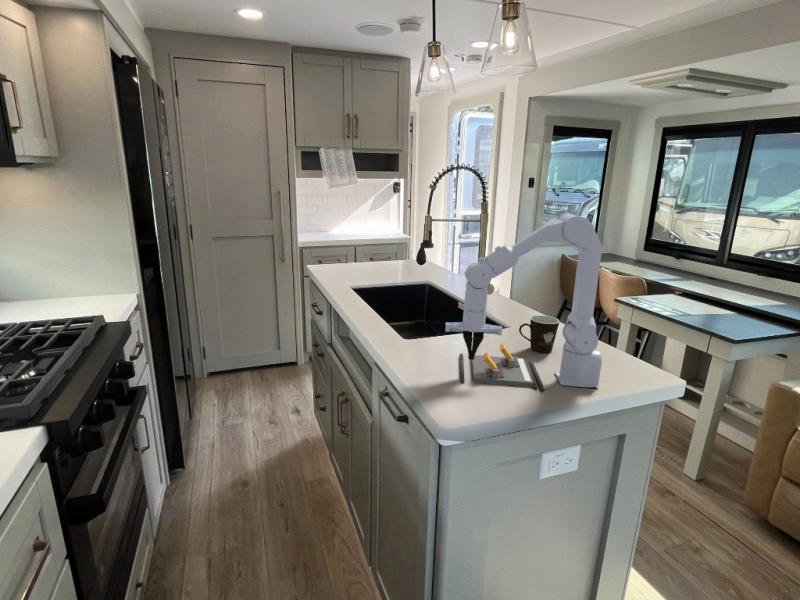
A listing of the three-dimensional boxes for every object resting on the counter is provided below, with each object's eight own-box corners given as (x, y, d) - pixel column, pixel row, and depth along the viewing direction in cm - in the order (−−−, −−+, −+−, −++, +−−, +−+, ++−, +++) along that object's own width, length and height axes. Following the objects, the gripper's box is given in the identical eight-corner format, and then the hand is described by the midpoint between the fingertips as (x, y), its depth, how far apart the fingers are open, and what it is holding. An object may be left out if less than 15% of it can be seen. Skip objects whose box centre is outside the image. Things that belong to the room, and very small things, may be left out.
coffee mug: (554, 347, 147) (558, 317, 144) (556, 356, 139) (560, 325, 136) (517, 342, 150) (520, 313, 147) (516, 351, 142) (520, 320, 139)
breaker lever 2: (512, 356, 131) (502, 343, 130) (514, 361, 127) (504, 348, 127) (509, 358, 131) (499, 345, 131) (510, 364, 128) (500, 350, 127)
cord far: (463, 356, 136) (463, 353, 136) (464, 383, 118) (464, 380, 118) (459, 355, 137) (459, 352, 136) (460, 383, 118) (460, 380, 118)
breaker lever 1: (497, 366, 124) (486, 352, 123) (498, 372, 120) (487, 357, 119) (493, 368, 124) (482, 354, 123) (494, 374, 120) (483, 360, 120)
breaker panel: (523, 362, 133) (525, 352, 132) (532, 386, 118) (534, 375, 117) (471, 358, 135) (472, 348, 134) (474, 382, 119) (475, 370, 119)
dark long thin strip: (527, 363, 133) (527, 360, 132) (537, 389, 116) (538, 386, 116) (524, 363, 133) (524, 360, 133) (533, 389, 116) (534, 385, 116)
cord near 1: (532, 362, 134) (532, 359, 133) (544, 392, 115) (545, 388, 115) (528, 362, 134) (529, 359, 133) (540, 391, 115) (541, 388, 115)
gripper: (502, 306, 122) (497, 354, 125) (447, 303, 123) (444, 350, 127) (504, 314, 115) (499, 364, 118) (446, 310, 116) (443, 360, 120)
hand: (471, 358), depth 122 cm, fingers closed
